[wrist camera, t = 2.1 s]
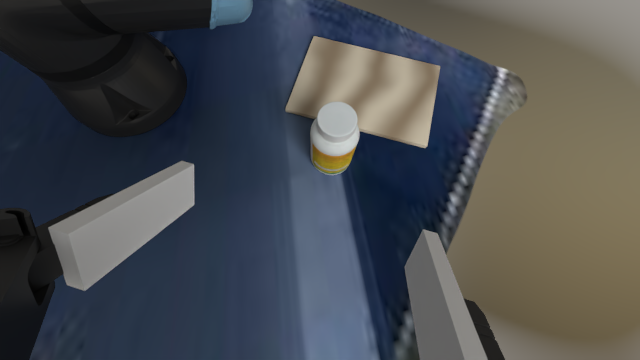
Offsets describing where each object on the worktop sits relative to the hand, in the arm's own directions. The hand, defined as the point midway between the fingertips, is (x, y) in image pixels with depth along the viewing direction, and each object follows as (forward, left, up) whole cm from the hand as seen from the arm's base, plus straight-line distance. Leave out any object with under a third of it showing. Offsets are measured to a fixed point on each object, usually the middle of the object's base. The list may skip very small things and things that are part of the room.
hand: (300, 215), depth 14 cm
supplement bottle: (0, +11, -17) cm, 20 cm away
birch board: (+2, +23, -17) cm, 29 cm away
